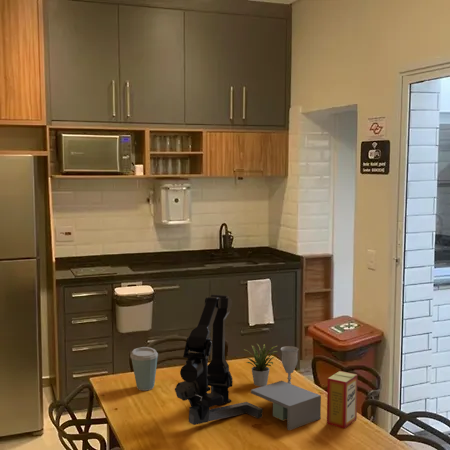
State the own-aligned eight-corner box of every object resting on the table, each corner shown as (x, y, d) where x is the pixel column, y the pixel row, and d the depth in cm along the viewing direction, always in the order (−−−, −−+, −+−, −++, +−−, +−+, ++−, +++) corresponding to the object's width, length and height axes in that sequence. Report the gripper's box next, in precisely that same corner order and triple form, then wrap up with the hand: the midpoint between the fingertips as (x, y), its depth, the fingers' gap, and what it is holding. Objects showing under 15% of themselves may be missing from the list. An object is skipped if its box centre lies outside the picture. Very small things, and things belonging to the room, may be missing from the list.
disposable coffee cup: (163, 389, 239) (163, 351, 237) (138, 395, 233) (137, 356, 231) (150, 381, 248) (150, 344, 246) (126, 386, 242) (125, 349, 240)
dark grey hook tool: (188, 422, 203) (189, 407, 203) (245, 409, 219) (246, 395, 219) (204, 430, 196) (205, 415, 196) (262, 417, 212) (263, 403, 212)
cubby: (250, 412, 216) (250, 389, 216) (281, 402, 226) (281, 380, 225) (289, 430, 202) (289, 406, 201) (320, 418, 211) (320, 395, 210)
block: (272, 416, 214) (273, 402, 213) (283, 412, 217) (283, 398, 216) (283, 420, 210) (283, 406, 209) (293, 417, 213) (293, 403, 212)
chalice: (297, 399, 228) (297, 352, 227) (278, 398, 230) (279, 351, 228) (298, 392, 236) (299, 346, 234) (281, 391, 237) (281, 345, 235)
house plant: (287, 382, 247) (288, 342, 245) (271, 393, 235) (271, 351, 234) (256, 376, 254) (257, 337, 253) (239, 385, 243) (239, 345, 241)
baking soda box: (344, 428, 203) (345, 381, 202) (326, 423, 207) (327, 377, 206) (356, 419, 211) (357, 373, 210) (339, 414, 215) (339, 369, 213)
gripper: (162, 370, 204) (162, 415, 206) (196, 385, 190) (196, 434, 191) (189, 363, 211) (189, 407, 213) (224, 377, 197) (224, 424, 199)
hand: (199, 418), depth 204 cm, fingers closed on dark grey hook tool, 3 cm apart
